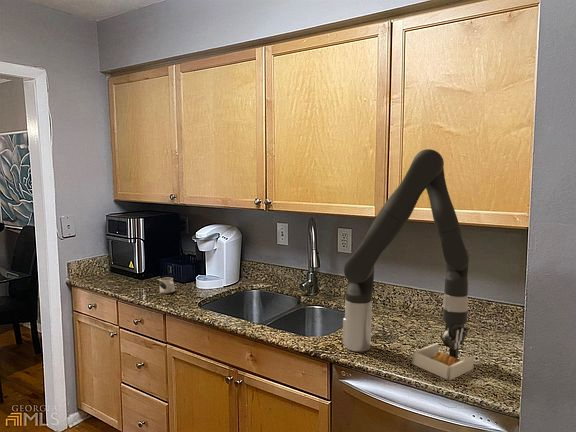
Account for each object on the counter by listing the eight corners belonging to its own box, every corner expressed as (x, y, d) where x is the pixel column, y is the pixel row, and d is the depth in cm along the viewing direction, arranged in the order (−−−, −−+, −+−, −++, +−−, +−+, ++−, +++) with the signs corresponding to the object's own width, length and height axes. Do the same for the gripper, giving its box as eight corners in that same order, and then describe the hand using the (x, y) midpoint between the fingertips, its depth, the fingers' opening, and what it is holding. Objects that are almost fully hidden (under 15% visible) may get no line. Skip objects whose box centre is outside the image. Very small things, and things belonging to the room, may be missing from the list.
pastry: (466, 367, 139) (466, 355, 138) (460, 375, 133) (461, 363, 133) (436, 359, 144) (437, 348, 144) (430, 367, 139) (430, 356, 138)
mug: (157, 291, 222) (156, 279, 221) (168, 289, 227) (167, 276, 226) (168, 295, 215) (168, 282, 214) (179, 292, 220) (179, 279, 219)
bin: (412, 363, 141) (412, 352, 140) (436, 354, 148) (436, 342, 148) (449, 380, 130) (449, 367, 129) (473, 368, 137) (473, 356, 137)
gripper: (456, 300, 147) (454, 349, 149) (433, 308, 139) (431, 359, 141) (477, 306, 141) (475, 357, 143) (454, 314, 133) (452, 368, 135)
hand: (453, 358), depth 142 cm, fingers closed
